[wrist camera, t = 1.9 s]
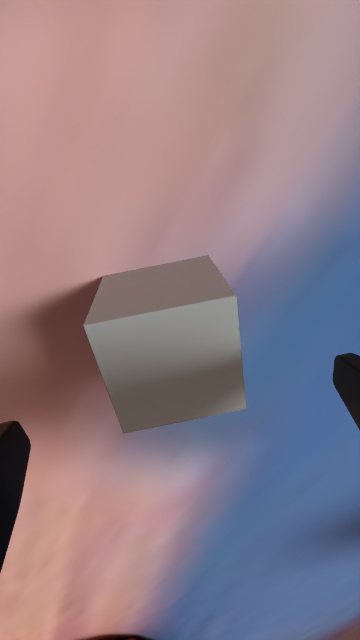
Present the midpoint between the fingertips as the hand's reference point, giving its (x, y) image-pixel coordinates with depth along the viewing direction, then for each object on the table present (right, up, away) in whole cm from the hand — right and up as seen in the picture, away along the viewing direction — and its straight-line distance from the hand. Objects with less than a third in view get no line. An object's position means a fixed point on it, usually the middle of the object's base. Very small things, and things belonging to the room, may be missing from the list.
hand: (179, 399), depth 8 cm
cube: (-1, +3, +5) cm, 6 cm away
